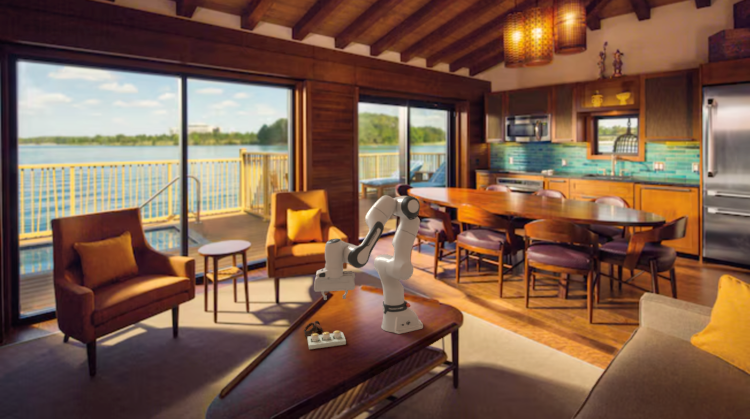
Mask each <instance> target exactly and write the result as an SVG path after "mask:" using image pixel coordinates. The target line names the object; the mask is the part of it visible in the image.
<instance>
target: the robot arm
mask: <svg viewBox="0 0 750 419" xmlns="http://www.w3.org/2000/svg"><path fill="white" fill-rule="evenodd" d="M420 207H421V204H420V201H419V200H418V198H416V197H415V196H411V195H401V196H393V197H392V196H390V195H387V194H385V195H381V197H379V198H378V199H377V200H376V202H374V203H373V204H372V206H370V208H369V209H368V211H367V212H366V214H365V217H364V218H365V220H364V221H365V224H366V226H367V228H368V231H367V234H366V236H365V237H364V239H363V241H362V242H361V244H359V245H355V244H353V243H349V242H346V241H343V240H342V239H341V238H332V239H328V241H326V242H325V245H324V260H325V264H324V268H321V269H318V270H316V273H315V275H316V276H315V278H314V283H313V291H314V292H315V293H316V292H321V295H322V298H323V300H324V301H326V300H327V299H328V298H327V295H325V292H333V291H334V292H337V291H338V292H339V291H344V294H342V299H345V300H346V299H347V295H348V293H349V291H354V290H355V289H356V284H355V283H356V282H355V280H356V272H354V271H352V270H347V271H345V270H344V264H348V265H351V266H352V267H353V268H356V269H361V268H363V267H364V266H366V265H367V264H368V262H369V259H370V257H371V253H372V252H373V250H374V248H375V246H376V245H377V243H378V242H379V240H380V238H381V237H382V235H383V232H384V228H385V226H386V224H387V222H388V221H389V219H390V218H391V217H392V216H394V217H399V225H398V226H397V229H396V231H395V233H394V236H393V239H392V241H391V245H392V248H393V249H394V250H393V255H391V254H379V255H377V256H376V257H375V258H374V261H373V267H374V269H375V271H376V272H377V274H378V276H379V279H380V282H381V286H382V292H383V295H382V296H383V301H382V313H383V314H382V316H383V317H382V322H381V326H380V327H381V328H380V329H382V330H383V331H384V332H385V331H386V332H388V333H389V332H390V333H394V334H397V335H400V334H405V333H408V332H409V333H411V332H413V331H418V330H421V329H423V328H424V323H423V322H422V321H421V319H420V318H419V316H418V314H417V313H416V312H415V310H413V309H411V306H412V305H411V304H410V303H409V302H408V301H407V300H405V288H404V286H403V284H402V283H401V281H408V280H409V279H411V277H412V276H413V273H414V265H413V264H412V260H411V256H412V255H411V254H412V250H413V246H414V244H415V241H416V238H417V235H418V232H419V230H420V224H421V220H420V218H419V217H418V216H419V214H420V209H421V208H420Z"/></svg>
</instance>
